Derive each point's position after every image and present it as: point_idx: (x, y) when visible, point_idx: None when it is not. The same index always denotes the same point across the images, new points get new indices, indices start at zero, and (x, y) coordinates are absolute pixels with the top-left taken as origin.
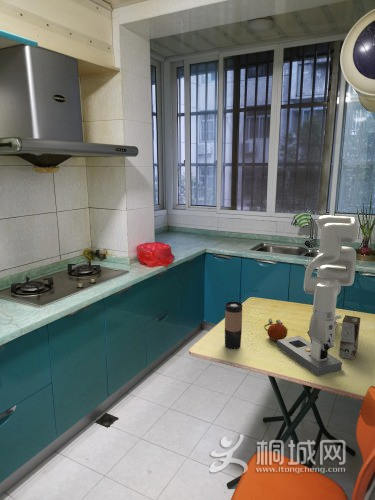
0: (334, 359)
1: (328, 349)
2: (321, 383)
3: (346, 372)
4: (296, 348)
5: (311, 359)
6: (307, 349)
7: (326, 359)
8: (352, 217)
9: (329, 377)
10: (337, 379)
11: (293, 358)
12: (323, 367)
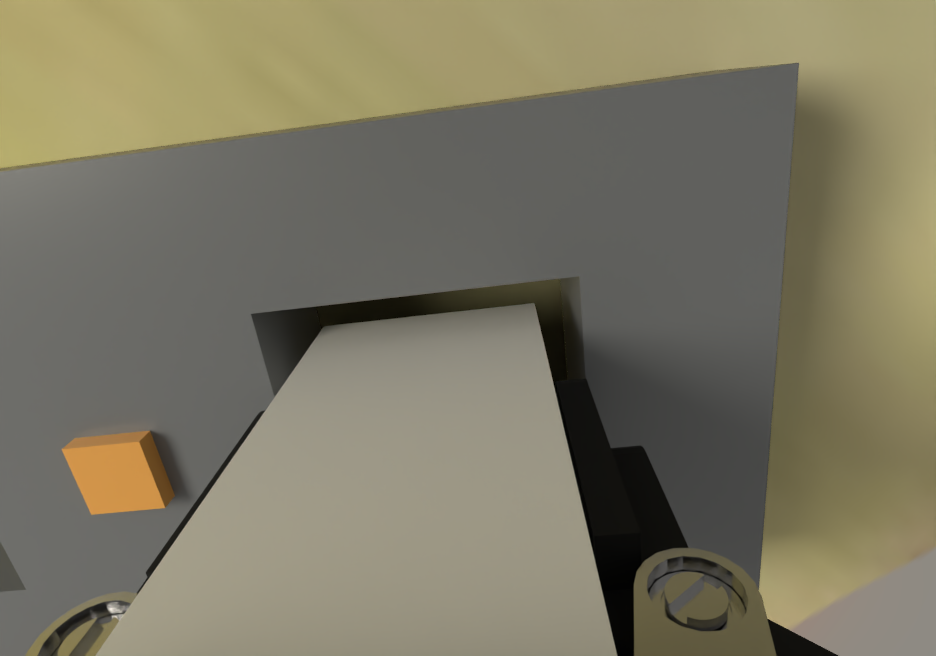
0: (625, 180)
1: (736, 594)
2: (850, 577)
3: (824, 34)
4: (43, 601)
5: None
6: (113, 487)
7: (539, 331)
8: None
9: (796, 412)
10: (897, 340)
11: None
12: (756, 544)
